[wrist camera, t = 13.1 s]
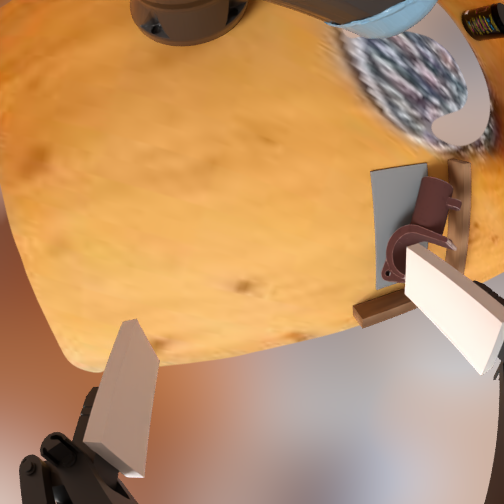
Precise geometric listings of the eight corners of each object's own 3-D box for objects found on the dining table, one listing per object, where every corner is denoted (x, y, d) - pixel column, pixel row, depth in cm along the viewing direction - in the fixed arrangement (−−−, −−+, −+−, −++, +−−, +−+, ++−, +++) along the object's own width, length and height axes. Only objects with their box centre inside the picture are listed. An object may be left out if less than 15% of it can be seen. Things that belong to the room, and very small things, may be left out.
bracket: (372, 276, 41) (427, 300, 33) (404, 171, 39) (461, 182, 31) (389, 280, 45) (438, 302, 37) (418, 185, 43) (469, 197, 35)
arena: (342, 176, 38) (355, 181, 34) (455, 159, 39) (470, 162, 35) (353, 315, 48) (362, 328, 44) (449, 278, 48) (461, 288, 45)
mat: (370, 171, 38) (371, 171, 38) (425, 162, 38) (426, 163, 38) (375, 289, 46) (376, 289, 46) (424, 271, 46) (425, 272, 46)
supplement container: (477, 47, 30) (515, 43, 20) (456, 21, 28) (494, 12, 18) (483, 31, 28) (519, 26, 19) (464, 6, 26) (499, -3, 17)
